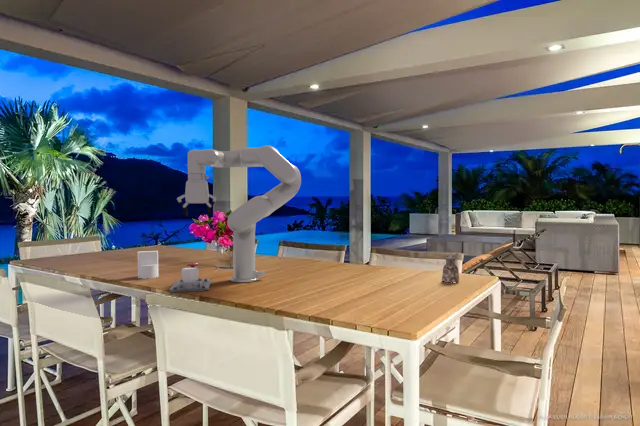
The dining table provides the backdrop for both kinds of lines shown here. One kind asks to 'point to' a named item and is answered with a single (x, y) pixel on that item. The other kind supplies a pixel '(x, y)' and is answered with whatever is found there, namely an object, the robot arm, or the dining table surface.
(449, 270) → the figurine
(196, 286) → the valve body
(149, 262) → the base with upright slab
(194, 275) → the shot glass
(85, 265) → the dining table surface
